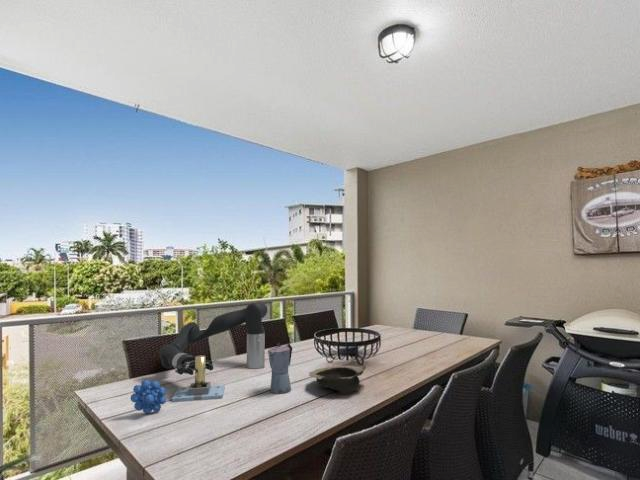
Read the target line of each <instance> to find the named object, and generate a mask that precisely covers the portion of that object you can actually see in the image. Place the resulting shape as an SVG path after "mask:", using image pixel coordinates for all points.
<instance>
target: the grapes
mask: <svg viewBox="0 0 640 480" xmlns="http://www.w3.org/2000/svg"><path fill="white" fill-rule="evenodd" d="M132 390H133V393H132V394H131V395H130V401H131V402H132V403H134V405H133V406H134V407H133V408H134V409H135V411H138V412H139V411H142V412H143V414H145V415H149V414H151V413H152V411H154V412H155V413H157V412H159V411H160V410H161V409H162V405H164V404H165V403H166V402H167V397H166V396H165V394H166V392H167V390H166V388H165V386H164V387H163V386H161V385H160V382H159V381H158V380H153V381H150V380H148V379H144V380H142V381H141V383H140V384H136V385H134V386H133V389H132Z"/></svg>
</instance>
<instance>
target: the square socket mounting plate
mask: <svg viewBox="0 0 640 480" xmlns="http://www.w3.org/2000/svg"><path fill="white" fill-rule="evenodd" d="M211 382H212V381H205V387H202V388H195V382H191V383H190V385H189V386H188V387H179V388H177V390H176V391H175V393H174V394H173V396H172V398H171V403H174V402H175V403H177V402H188V401H189V402H190V401H203V400H218V399H223V398H224V393H225V388H226V386H225V385H224V384H223V385H211Z"/></svg>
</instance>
